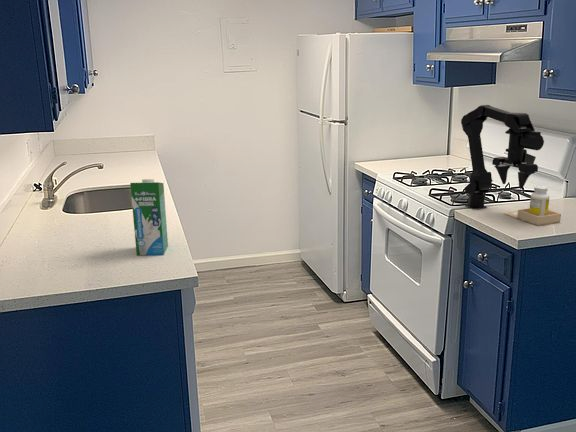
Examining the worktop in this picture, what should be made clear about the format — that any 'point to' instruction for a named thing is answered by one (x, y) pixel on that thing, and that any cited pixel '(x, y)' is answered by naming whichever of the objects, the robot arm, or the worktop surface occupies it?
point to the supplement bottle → (539, 201)
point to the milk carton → (149, 217)
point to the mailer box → (536, 217)
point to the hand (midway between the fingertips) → (512, 186)
